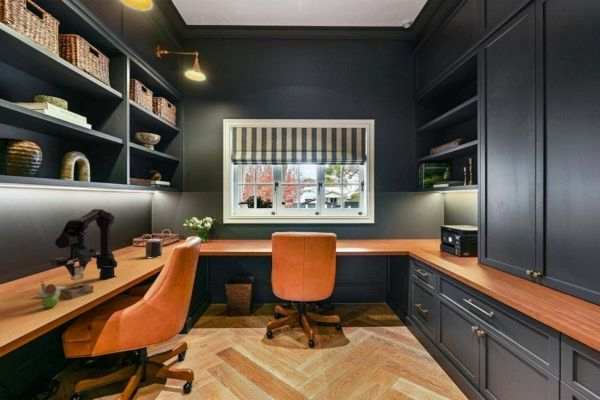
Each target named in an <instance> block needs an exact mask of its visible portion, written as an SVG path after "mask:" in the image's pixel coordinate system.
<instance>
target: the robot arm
mask: <svg viewBox="0 0 600 400" xmlns="http://www.w3.org/2000/svg"><path fill="white" fill-rule="evenodd" d="M114 220H115V216H114V215H113V214H112V213H111V212H109V211H105V210H104V209H103V208H101V209H100V208H94V209H91V210H90V211H89V212H87V213H86V214H84V215H82V216H81V217H78V218H73V219H70V220H67V222H66V223H65V225H64V228H63V229H62V231H61V233H60V236H58V237H57V238H56V239H55V241H54V244H55V246H56V247H57V248H59V249H65V248H67V250H69V254H68V255H67V257H56V258H52V259H51V260H50V266H56V267H58V266H59V267H60V266H64V267H65V268H66V269H67V271H68V273H69V274H70V277H71V276H74V266H76V263H75V261H78V266H82V267H83V273H84V272H85V269H86V267H87V265H88V264H89V262H92V260H93V259H96V262H95V263H96V264H95V265H96V269H97V270H100V271H99V277H98V279H100V280H109V279H111V278H116V277H117V275H115V269H116V268H117V267H118V262H117V260H116V259H115V255H114V253H113V252H112V251H111V227H112V226H113V224H114ZM94 221H95V224H96V226H97V227H98V228H99V242H100V243H99V245H100V246H99V248H100V250H99V251H97V249H96V248H90V249H87V248H88V247H87V245H85V236H86V235H87V232H86V230H87V229H88V228H89V225H90V224H91V223H92V222H94Z"/></svg>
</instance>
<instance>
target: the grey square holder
mask: <svg viewBox="0 0 600 400" xmlns="http://www.w3.org/2000/svg"><path fill="white" fill-rule="evenodd" d="M92 293H94V285H93V284H85V283H80V284H76V285H72V286H68V287H66V288H64V289H61V290H60V294H59V298H60V297H61V298H64V299H70V300H74V299H77V298H80V297H82V296H85V295H89V294H92Z"/></svg>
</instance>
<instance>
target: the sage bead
mask: <svg viewBox="0 0 600 400" xmlns="http://www.w3.org/2000/svg"><path fill="white" fill-rule="evenodd" d="M55 286H56V288H57V289H56V291H55V292H54V293H56V294H55V295H56V296H60V290H61V289H64V288H67V287H66V285H65V286H63V285H61V286H57V285H55ZM46 296H47V295H45V294H44V293H43V291H42V289H41V290H38V291H37V298H45V297H46Z"/></svg>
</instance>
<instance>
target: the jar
mask: <svg viewBox="0 0 600 400" xmlns="http://www.w3.org/2000/svg"><path fill="white" fill-rule="evenodd" d="M161 255H162V256H163V241H161V240H160V238H150V239H147V241H146V242H145V258H146V257H158V256H161Z"/></svg>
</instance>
